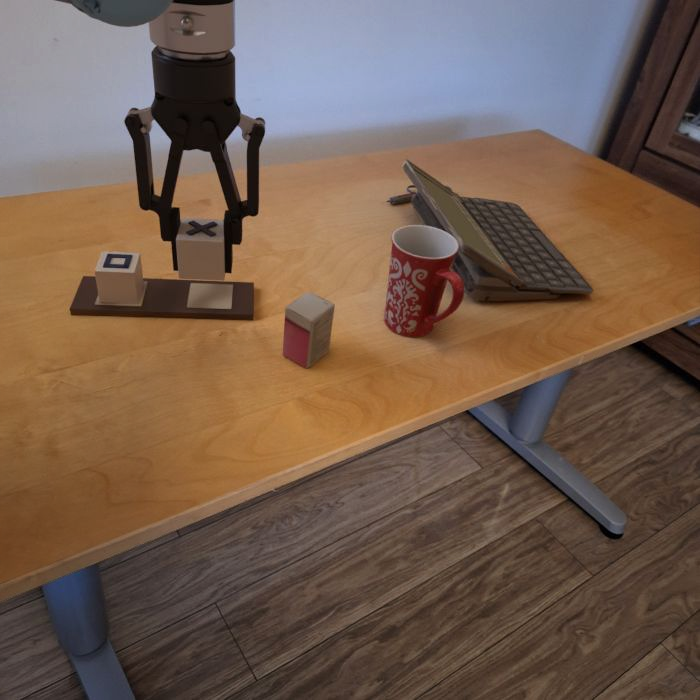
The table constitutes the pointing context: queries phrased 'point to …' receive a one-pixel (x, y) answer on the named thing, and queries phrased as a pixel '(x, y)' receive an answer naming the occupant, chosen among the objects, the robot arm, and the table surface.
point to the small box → (307, 329)
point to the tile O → (119, 277)
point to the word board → (172, 300)
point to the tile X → (201, 249)
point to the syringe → (405, 196)
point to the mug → (420, 279)
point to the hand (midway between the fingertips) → (203, 265)
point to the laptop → (494, 245)
